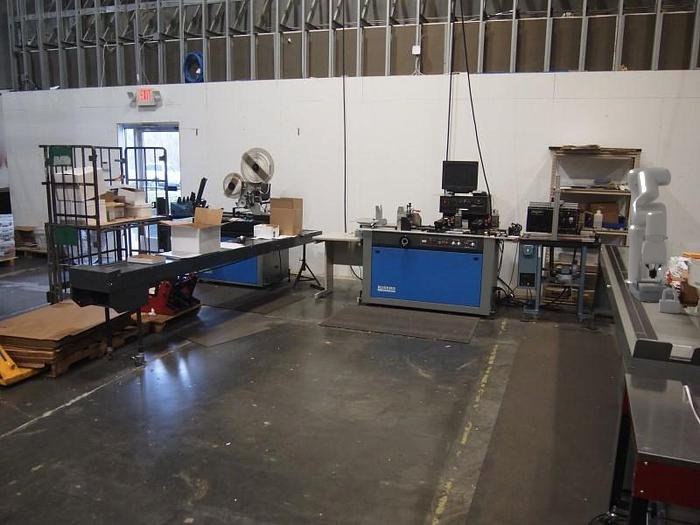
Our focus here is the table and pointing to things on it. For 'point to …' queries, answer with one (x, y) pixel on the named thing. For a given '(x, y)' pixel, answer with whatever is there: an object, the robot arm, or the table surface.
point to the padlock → (669, 303)
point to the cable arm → (661, 275)
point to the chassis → (648, 290)
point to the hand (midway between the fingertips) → (652, 278)
